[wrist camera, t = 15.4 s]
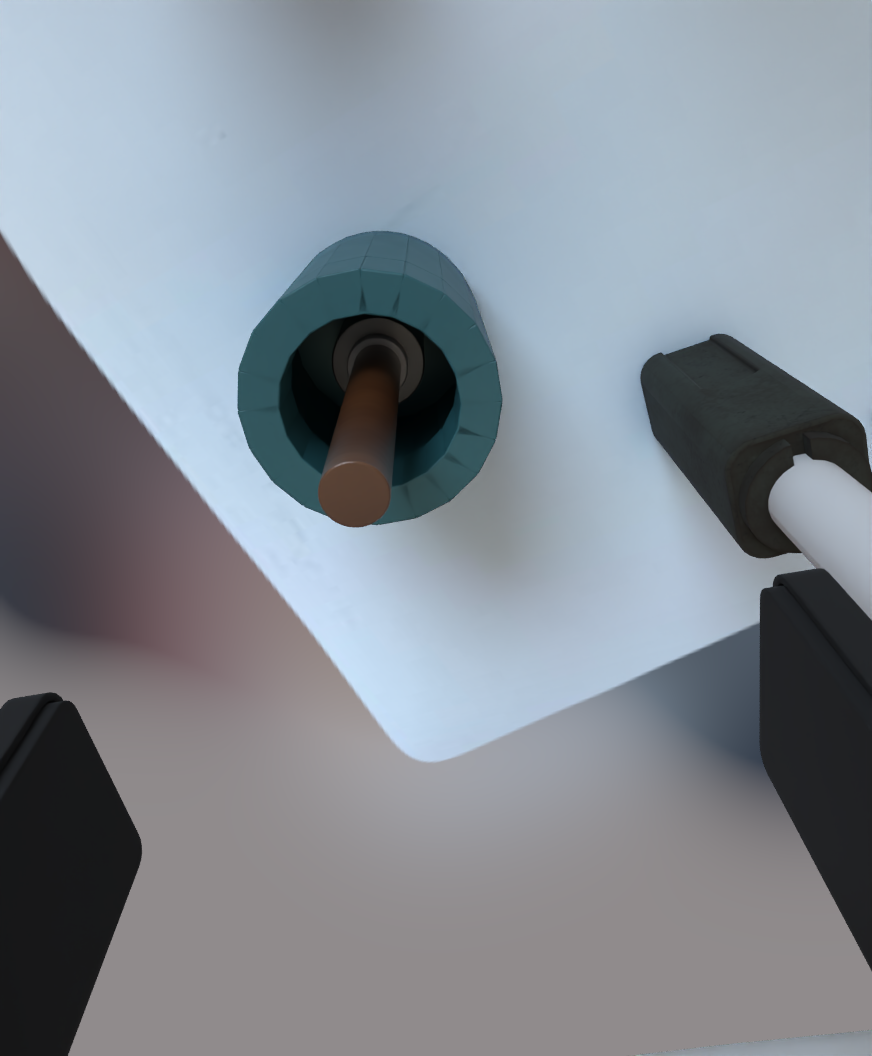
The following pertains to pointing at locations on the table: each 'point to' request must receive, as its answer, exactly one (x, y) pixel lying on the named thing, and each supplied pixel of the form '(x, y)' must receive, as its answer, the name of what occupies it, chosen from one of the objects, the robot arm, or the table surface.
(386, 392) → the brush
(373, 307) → the teal hollow cylinder
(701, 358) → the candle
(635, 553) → the table surface
